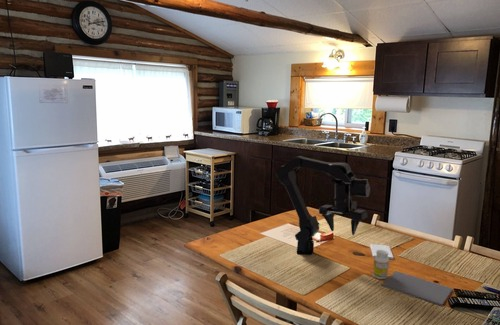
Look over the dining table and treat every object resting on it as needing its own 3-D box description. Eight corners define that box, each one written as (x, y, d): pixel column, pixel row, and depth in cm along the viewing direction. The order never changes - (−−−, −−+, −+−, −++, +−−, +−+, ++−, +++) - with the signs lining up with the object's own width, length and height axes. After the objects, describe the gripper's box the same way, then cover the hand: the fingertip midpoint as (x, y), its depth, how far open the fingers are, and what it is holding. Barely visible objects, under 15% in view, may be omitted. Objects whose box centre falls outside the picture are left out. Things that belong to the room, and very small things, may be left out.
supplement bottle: (384, 280, 141) (386, 256, 140) (370, 276, 145) (372, 252, 143) (389, 275, 146) (392, 251, 144) (376, 271, 149) (378, 247, 147)
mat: (381, 285, 138) (381, 284, 138) (395, 272, 148) (395, 270, 148) (441, 306, 125) (441, 304, 125) (452, 290, 136) (452, 288, 136)
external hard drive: (389, 249, 172) (393, 260, 160) (369, 247, 174) (372, 258, 162) (389, 245, 172) (393, 257, 160) (370, 243, 174) (373, 255, 162)
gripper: (373, 193, 153) (373, 231, 155) (331, 188, 166) (332, 224, 168) (360, 199, 145) (361, 239, 147) (317, 193, 157) (318, 230, 159)
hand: (342, 232), depth 156 cm, fingers open, 9 cm apart
